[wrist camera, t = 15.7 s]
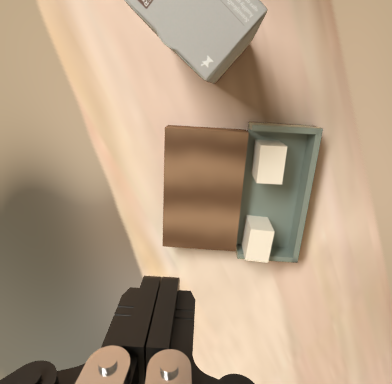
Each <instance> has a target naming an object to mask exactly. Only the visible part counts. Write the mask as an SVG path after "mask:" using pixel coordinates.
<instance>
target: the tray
mask: <svg viewBox="0 0 392 384" xmlns="http://www.w3.org/2000/svg"><path fill="white" fill-rule="evenodd" d="M322 131H323V129H322V128H319V127H316V126H310V125H293V124H276V123H259V122H249V126H248V133H249V135H248V144H247V153H246V162H245V171H244V180H243V189H242V198H241V207H240V216H239V225H238V234H237V243H236V254H237V258H238V259H245V258H244V253H243V248H242V244H241V243H242V237H243V231H244V226H245V220H246V215H252V216H261V217H268V219H269V221H270V223H271V225H272V227H273V229H274V237H273V242H272V246H271V251H270V256H269V260H268V261H282V262H296V263H297V262H298V257H299V252H300V247H301V241H302V236H303V231H304V226H305V220H306V215H307V210H308V205H309V199H310V194H311V189H312V184H313V179H314V173H315V168H316V163H317V158H318V152H319V147H320V142H321V137H322ZM255 139H259V140H279V141H280V142H281V143H283V144H284V145H286V146H287V153H286V160H285V167H284V174H283V181H282V184H262V183H256V181H255V179H254V177H253V176H252V174H251V171H252V162H253V152H254V143H255Z"/></svg>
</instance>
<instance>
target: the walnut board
mask: <svg viewBox="0 0 392 384" xmlns="http://www.w3.org/2000/svg"><path fill="white" fill-rule="evenodd" d="M248 135H249V133H248V132H247V131H246V130H242V129H225V128H208V127H191V126H174V125H168V126H167V127H165V153H164V206H163V246H167V247H182V248H196V249H211V250H226V251H236V243H237V234H238V225H239V216H240V207H241V198H242V189H243V180H244V171H245V162H246V153H247V144H248Z"/></svg>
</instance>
